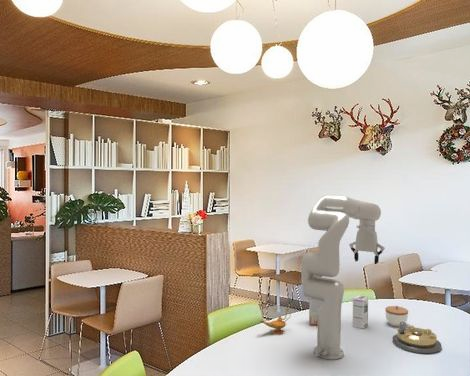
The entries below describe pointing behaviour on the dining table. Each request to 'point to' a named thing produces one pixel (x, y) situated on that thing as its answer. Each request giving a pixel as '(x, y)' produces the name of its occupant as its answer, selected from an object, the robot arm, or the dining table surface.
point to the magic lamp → (277, 324)
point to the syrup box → (360, 311)
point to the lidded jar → (396, 315)
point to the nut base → (417, 350)
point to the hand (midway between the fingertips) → (366, 262)
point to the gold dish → (416, 336)
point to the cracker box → (314, 310)
